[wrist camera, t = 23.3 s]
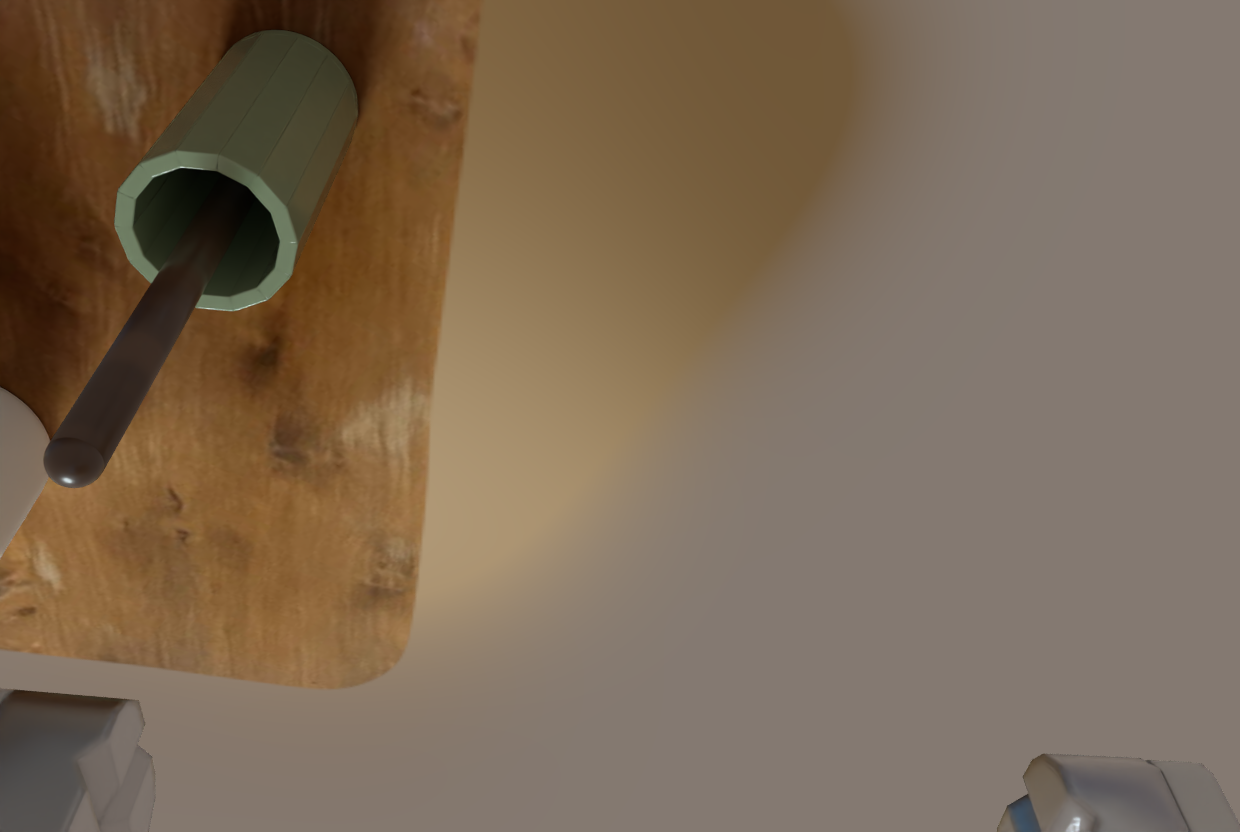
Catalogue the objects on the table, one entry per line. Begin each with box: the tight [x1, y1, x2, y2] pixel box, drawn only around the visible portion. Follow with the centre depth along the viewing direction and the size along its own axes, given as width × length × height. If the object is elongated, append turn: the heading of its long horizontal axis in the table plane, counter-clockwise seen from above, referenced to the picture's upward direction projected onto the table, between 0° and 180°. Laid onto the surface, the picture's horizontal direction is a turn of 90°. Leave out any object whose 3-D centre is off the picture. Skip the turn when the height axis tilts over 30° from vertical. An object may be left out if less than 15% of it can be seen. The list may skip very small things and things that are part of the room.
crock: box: [114, 30, 358, 311], centre depth 42 cm, size 6×6×12 cm
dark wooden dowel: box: [43, 174, 256, 488], centre depth 37 cm, size 2×1×24 cm, turn 174°
